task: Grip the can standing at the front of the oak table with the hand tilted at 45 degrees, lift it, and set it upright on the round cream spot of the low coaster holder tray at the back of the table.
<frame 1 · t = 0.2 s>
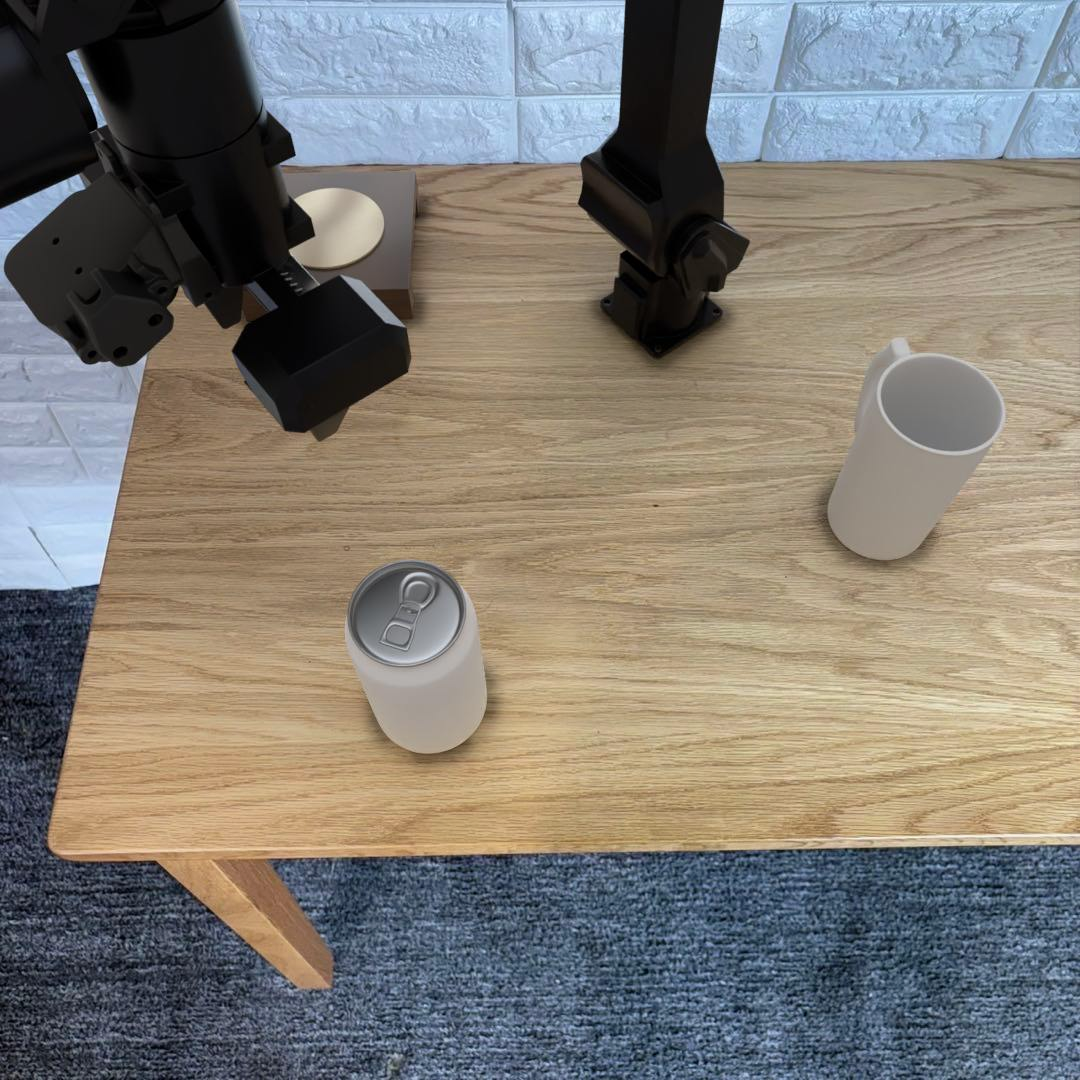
hand: (277, 377, 51), 15 cm above the table, tool pointing down, fingers open, 9 cm apart
can: (431, 702, 58), on the table
mug: (866, 498, 64), on the table
coaster holder tray: (336, 259, 75), on the table
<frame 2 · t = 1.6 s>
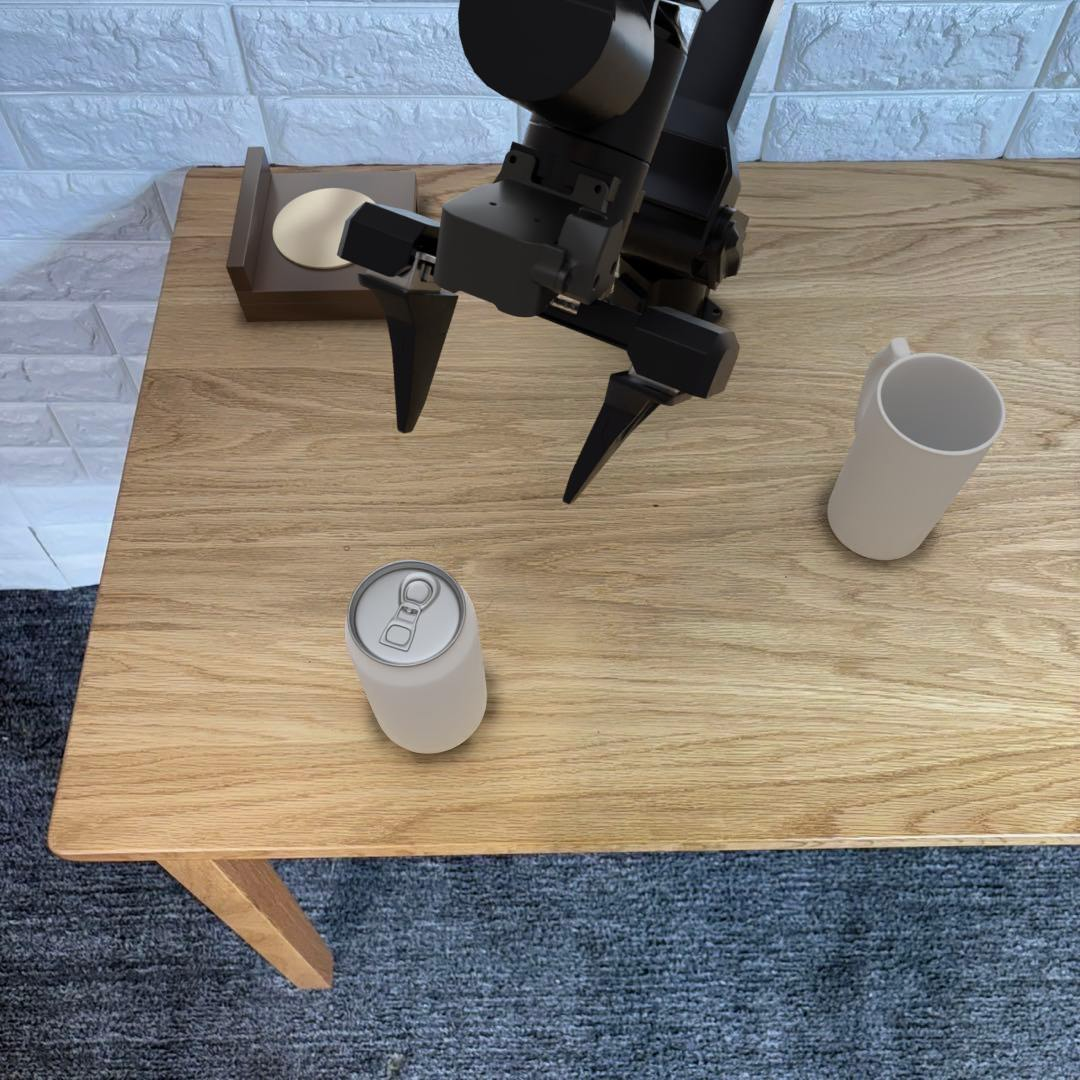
hand: (484, 466, 49), 13 cm above the table, tool tilted 45°, fingers open, 9 cm apart
nothing on the table moved.
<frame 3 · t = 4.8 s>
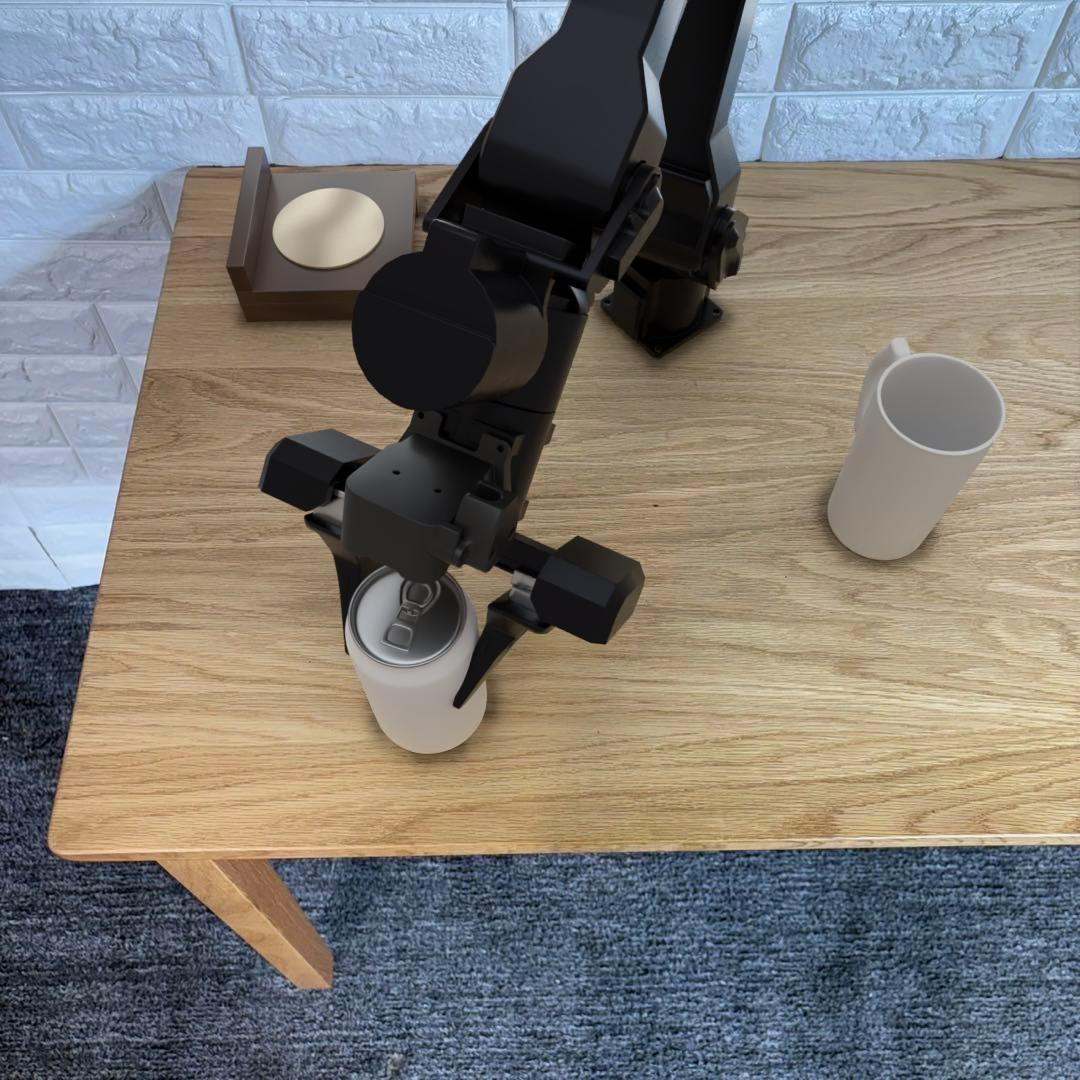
hand: (404, 678, 51), 7 cm above the table, tool tilted 45°, fingers closed on can, 6 cm apart
can: (431, 703, 58), on the table, touching gripper
everything else where it was.
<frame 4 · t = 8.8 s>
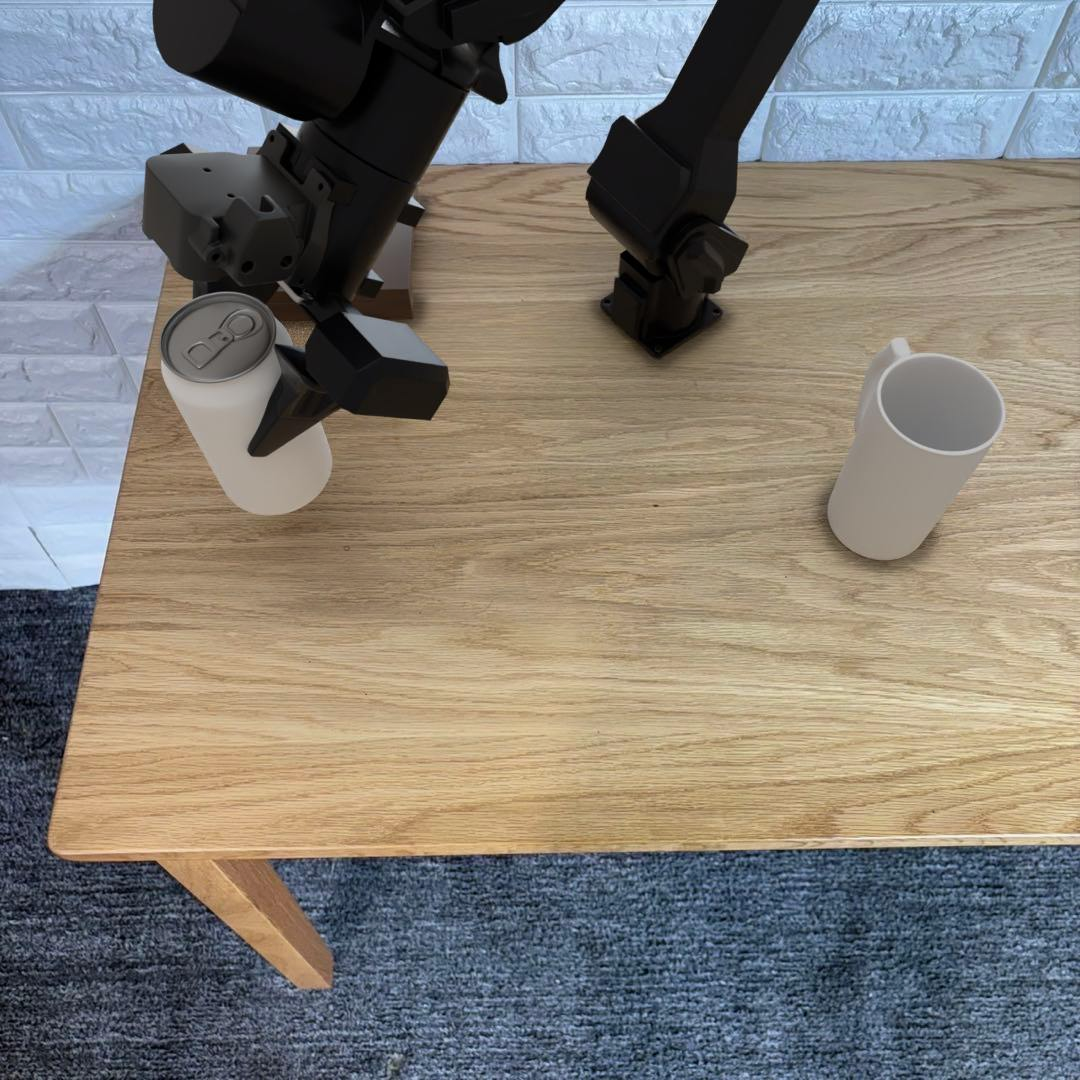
hand: (224, 415, 52), 13 cm above the table, tool tilted 45°, fingers closed on can, 6 cm apart
can: (279, 473, 58), point 6 cm above the table, touching gripper
everything else where it was.
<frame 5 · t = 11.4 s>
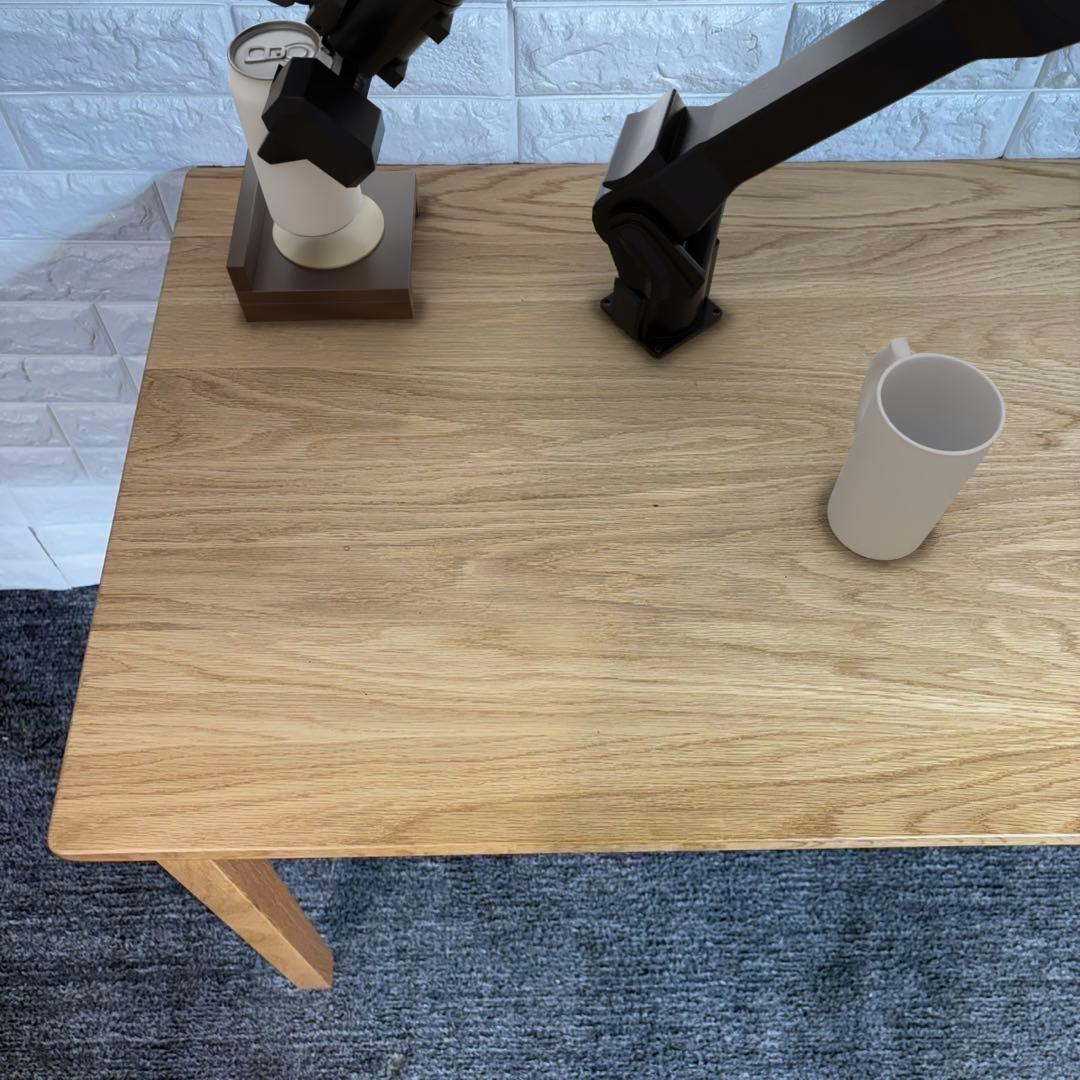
hand: (275, 124, 64), 12 cm above the table, tool tilted 45°, fingers closed on can, 6 cm apart
can: (317, 209, 70), point 6 cm above the table, touching gripper
everything else where it was.
when the fingers open (10 cm above the table, at t = 13.3 s): can stays where it is, resting on coaster holder tray.
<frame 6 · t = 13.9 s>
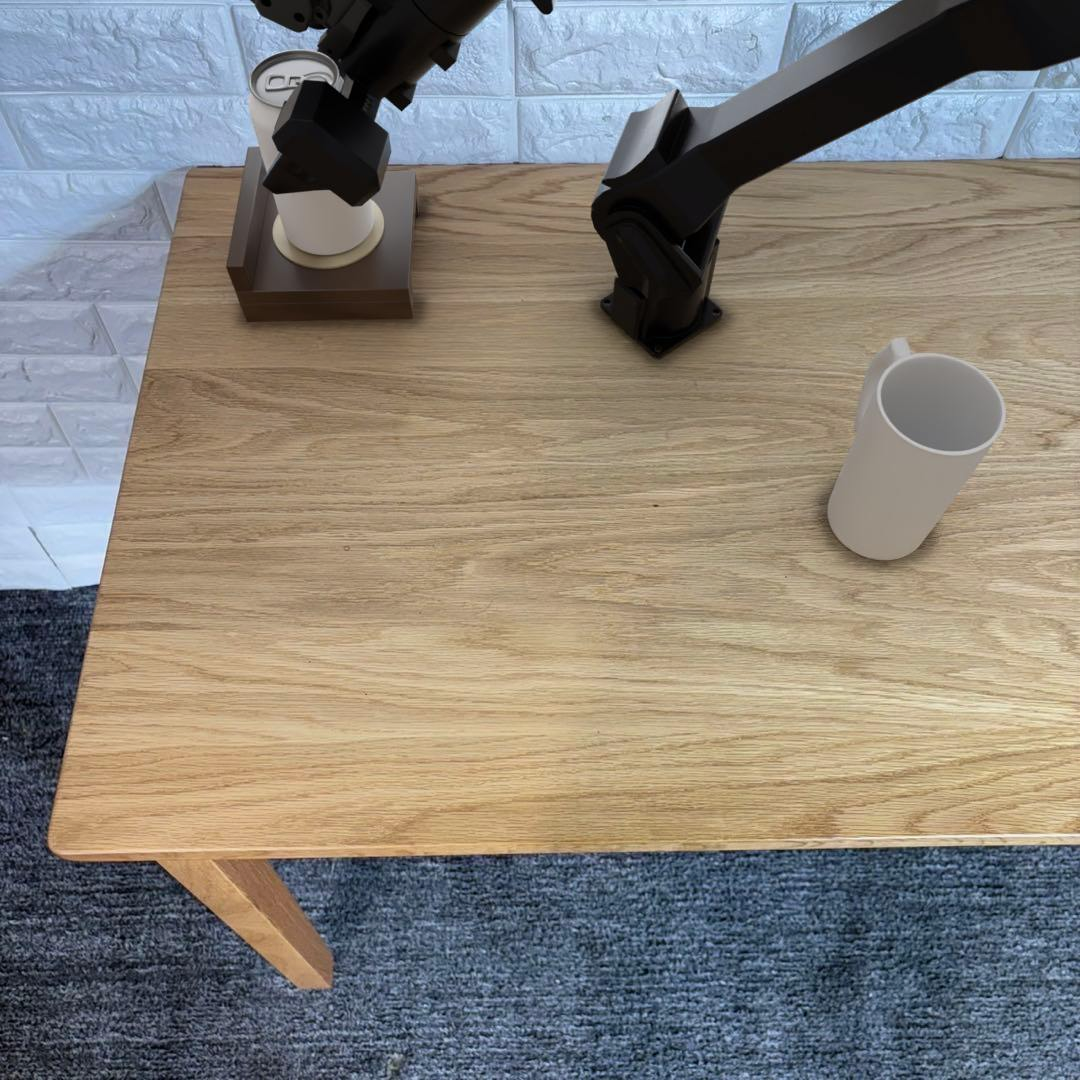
hand: (286, 139, 66), 10 cm above the table, tool tilted 45°, fingers open, 9 cm apart
can: (330, 228, 72), point 3 cm above the table, touching coaster holder tray
everything else where it was.
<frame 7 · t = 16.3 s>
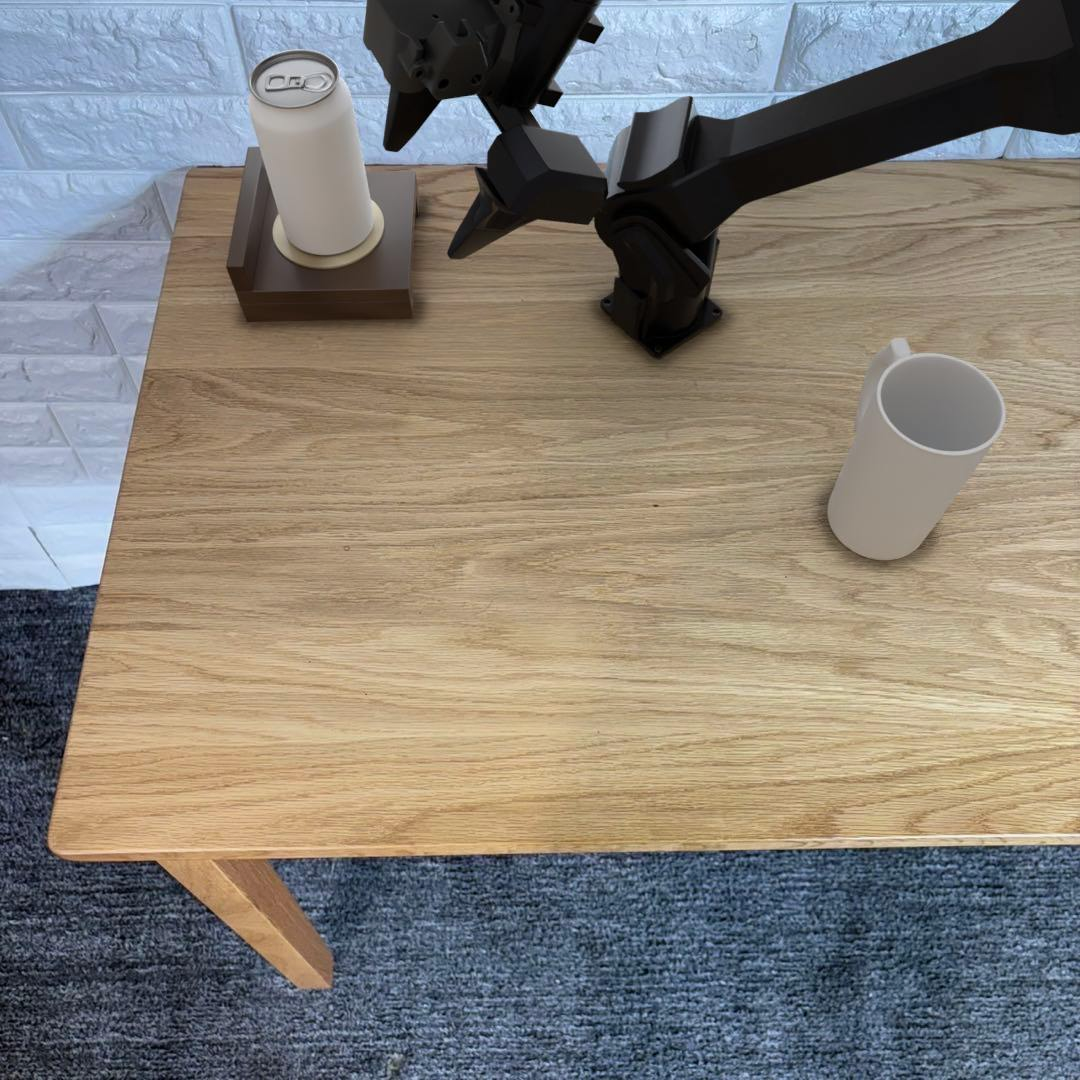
hand: (421, 202, 61), 11 cm above the table, tool tilted 35°, fingers open, 9 cm apart
nothing on the table moved.
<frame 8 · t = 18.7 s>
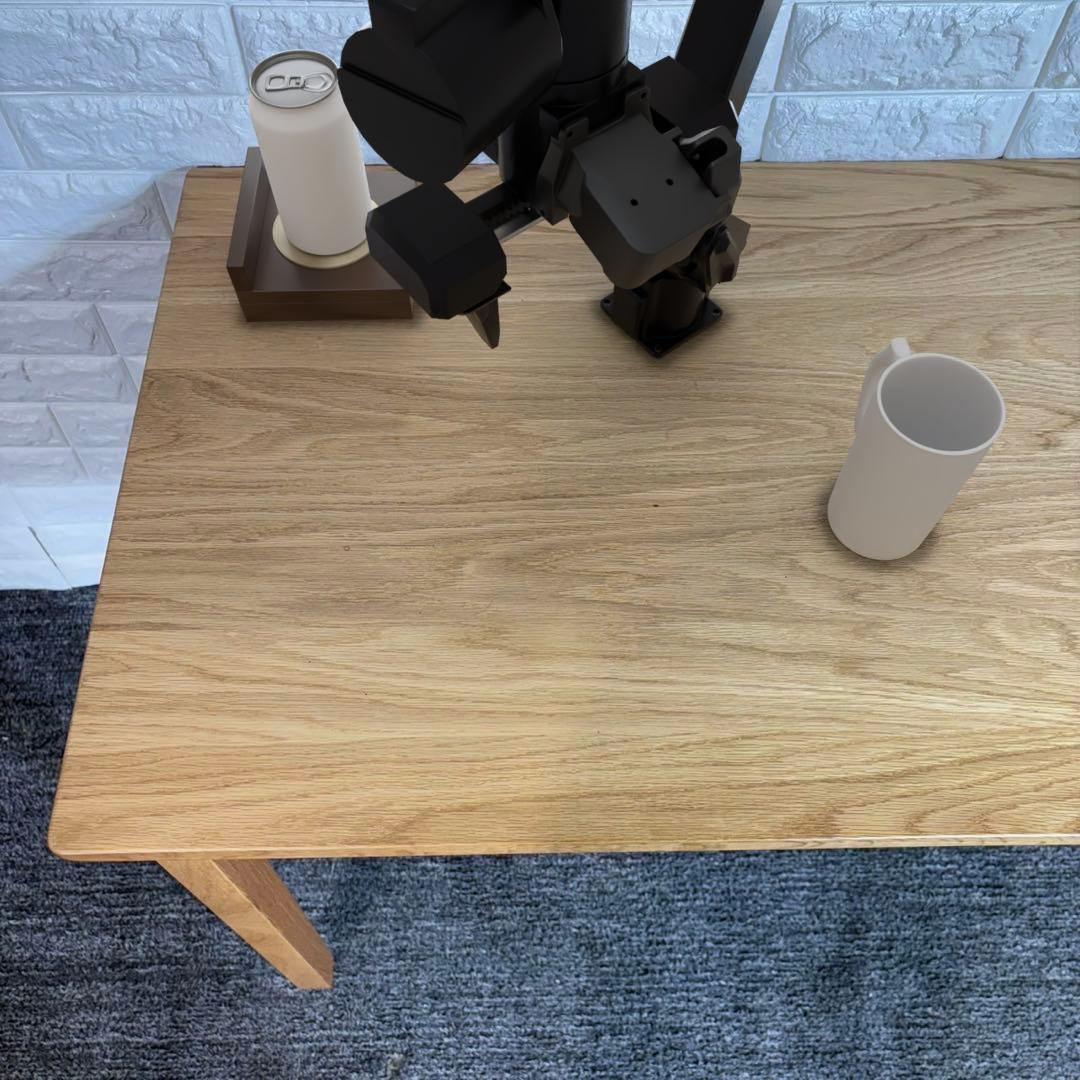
hand: (556, 303, 55), 13 cm above the table, tool pointing down, fingers open, 9 cm apart
nothing on the table moved.
at the end: can 0.1 cm off-centre on the coaster holder tray, point 3.0 cm above the coaster holder tray's base; can tilted 0° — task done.
